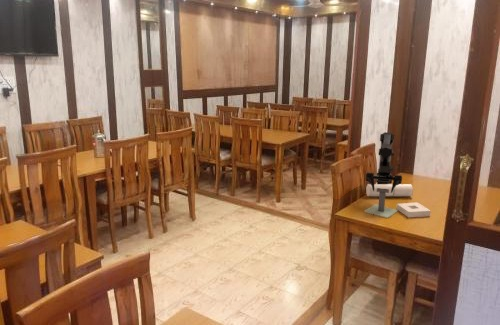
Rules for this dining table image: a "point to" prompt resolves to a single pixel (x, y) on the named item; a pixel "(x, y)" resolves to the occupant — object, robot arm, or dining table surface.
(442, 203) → the dining table surface
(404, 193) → the cylindrical container
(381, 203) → the t key
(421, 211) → the socket block
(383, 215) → the pad
